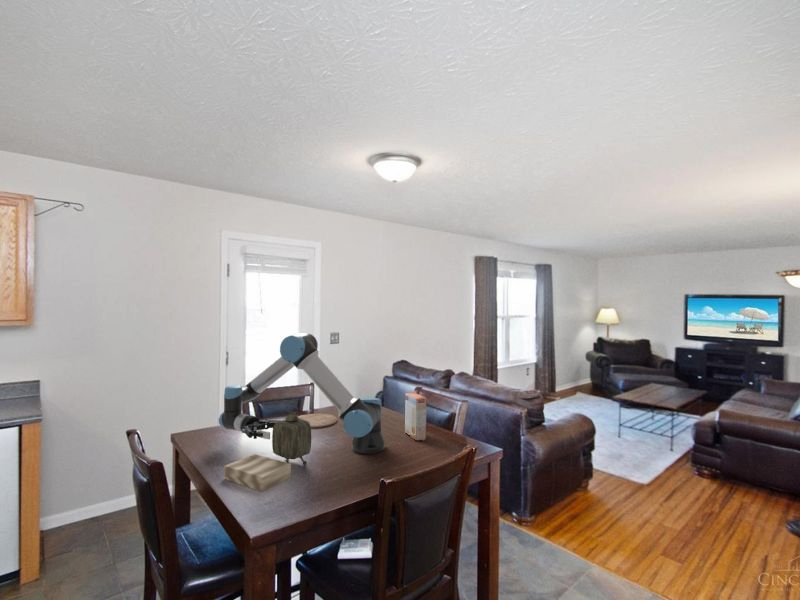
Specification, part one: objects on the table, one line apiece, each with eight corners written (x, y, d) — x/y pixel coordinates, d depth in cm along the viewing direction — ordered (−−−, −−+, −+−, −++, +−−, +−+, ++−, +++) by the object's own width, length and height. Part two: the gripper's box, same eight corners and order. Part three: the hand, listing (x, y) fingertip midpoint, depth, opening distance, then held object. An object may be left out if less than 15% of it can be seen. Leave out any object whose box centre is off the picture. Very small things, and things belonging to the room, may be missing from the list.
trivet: (283, 422, 225) (283, 419, 225) (320, 414, 243) (320, 411, 243) (306, 432, 207) (306, 428, 207) (345, 423, 225) (345, 419, 225)
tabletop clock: (311, 464, 163) (311, 403, 164) (293, 472, 156) (294, 408, 156) (287, 457, 171) (288, 399, 172) (270, 464, 164) (270, 403, 164)
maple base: (290, 477, 151) (291, 463, 151) (261, 491, 139) (262, 477, 139) (254, 466, 161) (254, 454, 161) (224, 479, 149) (224, 465, 149)
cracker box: (426, 440, 195) (427, 397, 196) (415, 441, 193) (415, 398, 193) (415, 432, 208) (415, 392, 209) (404, 433, 206) (404, 392, 206)
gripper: (269, 425, 187) (303, 432, 177) (222, 440, 165) (258, 449, 155) (269, 409, 187) (303, 415, 177) (222, 422, 166) (258, 430, 155)
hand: (282, 431), depth 166 cm, fingers open, 13 cm apart
